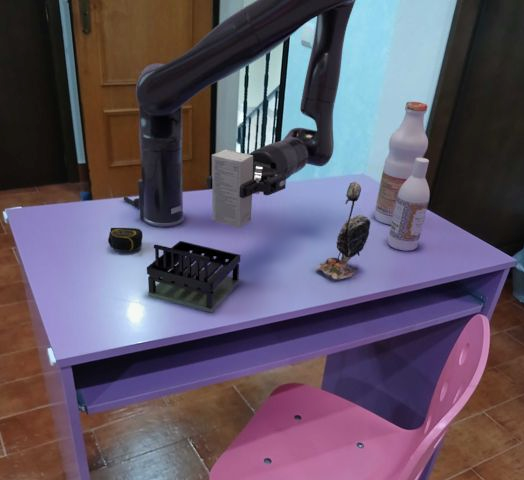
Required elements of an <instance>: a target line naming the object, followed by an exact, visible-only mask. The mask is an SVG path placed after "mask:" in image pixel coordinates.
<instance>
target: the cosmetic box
mask: <svg viewBox="0 0 524 480" xmlns="http://www.w3.org/2000/svg"><path fill="white" fill-rule="evenodd" d="M249 154H250V153H249ZM249 154H248V153H245V152H244V153H243V152H238V151H233V150H229V149H222V150H220V151H217V152H215V153H213V154H211V168H212V189H211V194H212V195H211V197H212V199H211V201H212V202H211V203H212V204H211V205H212V222H213V221H214V222H217V223H219V224H224V225H227V226H231V227H235V228H238V229H241V228H242V227H244V226H245V225H247V224H248V223H250V222H251V221H252V208H253V207H252V204H253V194H252V195H250V196H247V197H245V198H241V197H240V196H239V192H240V186H241V185H242V184H244V183H246V182H248V181H250V180H252V178H253V155H249Z"/></svg>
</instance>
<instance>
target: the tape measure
mask: <svg viewBox="0 0 524 480" xmlns="http://www.w3.org/2000/svg"><path fill="white" fill-rule="evenodd" d="M142 241H143V230H141V229H140V228H135V227H111V228H110V231H109V234H108V238H107V243H108V244H109V246H110V247H111V249H113V250H115V251H120V252H132V251H135V250H139V248H141V247H142V243H143V242H142Z"/></svg>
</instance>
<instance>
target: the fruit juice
mask: <svg viewBox="0 0 524 480" xmlns="http://www.w3.org/2000/svg"><path fill="white" fill-rule="evenodd" d="M404 111H405V114H404V117H403V119H402V122H401V124H400V125H399V126H398V128H397V129H395V130H394V131H393V133H392V134H391V135H390V138H389V141H388V154H387V157H386V158H385V161H384V164H383V168H382V173H381V178H380V183H379V188H378V192H377V199H376V202H375V203H376V204H375V209H374V218H375V220H376V221H378V222H379V223H381V224H384V225H389V226H391V223H392V219H393V214H394V210H395V205H396V201H397V196H398V193H399V190H400V188H401V186H402V185H403V184H404V182H405V181H406V180H407V179H408V178H409V177H410V176H411V175H412V172H413V167H414V163H415V159H416V158H424V157H425V154H426V153H427V151H428V147H429V139H428V136H427V134H426V131H425V125H424V119H425V118H424V117H425V114H426V113H427V111H428V105H427V104H426V103H425V102H420V101H407V102H406V104H405V107H404Z"/></svg>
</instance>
